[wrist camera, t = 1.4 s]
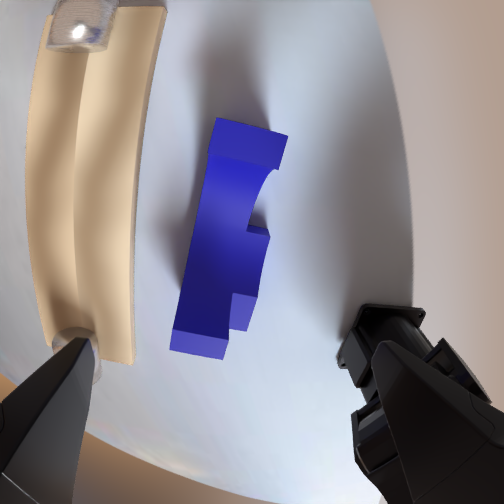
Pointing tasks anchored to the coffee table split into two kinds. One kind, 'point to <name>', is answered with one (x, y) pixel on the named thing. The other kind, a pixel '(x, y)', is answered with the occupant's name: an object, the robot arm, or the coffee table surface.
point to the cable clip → (226, 240)
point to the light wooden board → (89, 179)
